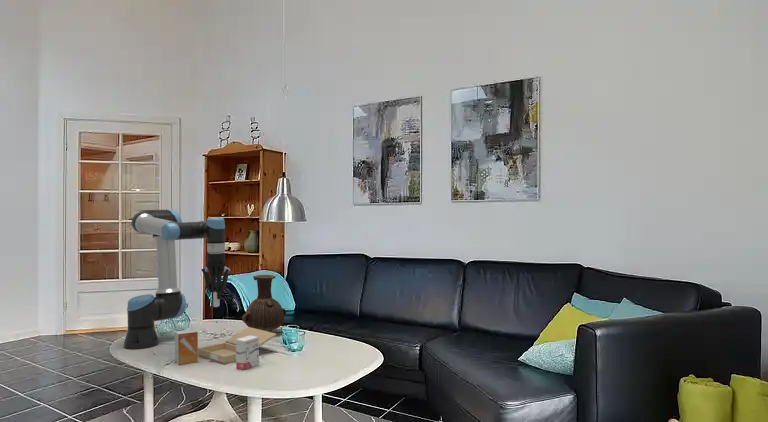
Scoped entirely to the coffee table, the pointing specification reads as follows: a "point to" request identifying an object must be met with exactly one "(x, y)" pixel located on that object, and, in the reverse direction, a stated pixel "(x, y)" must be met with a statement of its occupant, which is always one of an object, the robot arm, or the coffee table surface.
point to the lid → (249, 331)
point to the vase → (264, 307)
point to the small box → (186, 346)
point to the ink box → (247, 352)
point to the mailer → (219, 353)
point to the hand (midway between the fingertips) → (216, 306)
